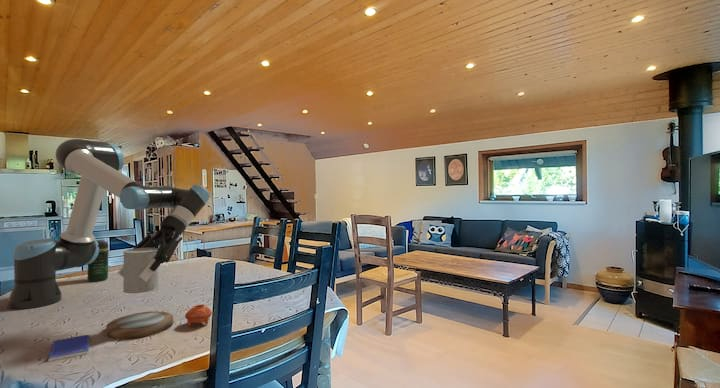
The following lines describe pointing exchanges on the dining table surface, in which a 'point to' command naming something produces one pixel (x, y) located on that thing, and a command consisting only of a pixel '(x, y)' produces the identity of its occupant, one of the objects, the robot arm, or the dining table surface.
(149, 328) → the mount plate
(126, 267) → the grey cylinder
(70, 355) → the blue flat block
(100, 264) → the coffee jar
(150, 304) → the dining table surface
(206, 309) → the pot
